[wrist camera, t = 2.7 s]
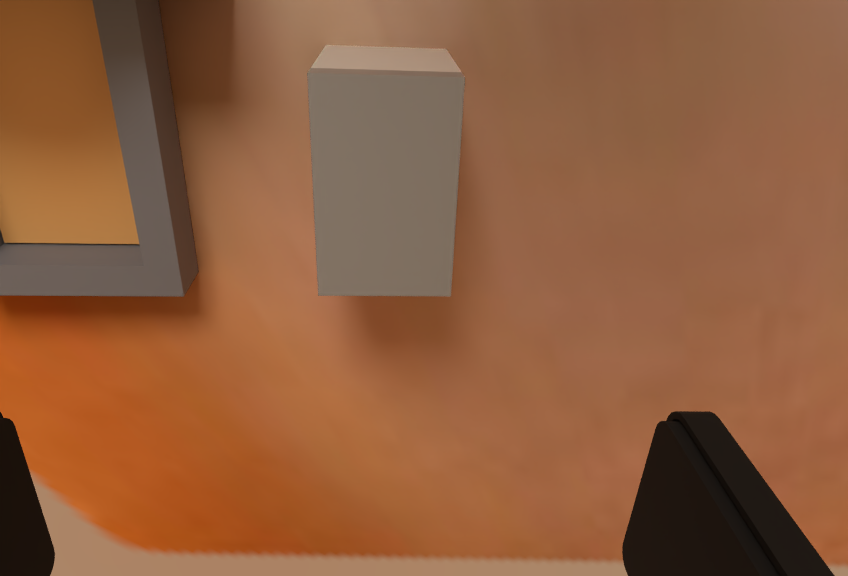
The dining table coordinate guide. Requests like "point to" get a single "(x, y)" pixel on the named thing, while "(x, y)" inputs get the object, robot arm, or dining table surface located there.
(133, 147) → the domed grey panel
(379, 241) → the grey bevelled box
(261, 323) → the dining table surface
